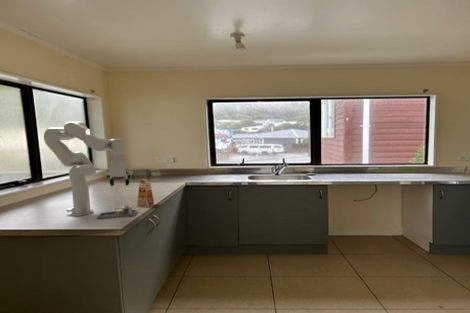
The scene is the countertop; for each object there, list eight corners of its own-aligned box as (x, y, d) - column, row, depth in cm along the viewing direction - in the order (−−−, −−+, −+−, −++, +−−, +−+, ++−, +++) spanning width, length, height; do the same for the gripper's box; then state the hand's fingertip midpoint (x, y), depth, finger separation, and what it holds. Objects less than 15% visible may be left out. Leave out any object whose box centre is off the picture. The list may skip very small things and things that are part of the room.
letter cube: (122, 215, 167) (121, 207, 167) (123, 213, 172) (123, 205, 172) (130, 215, 168) (130, 207, 168) (132, 212, 173) (131, 205, 173)
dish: (111, 213, 174) (111, 211, 174) (114, 209, 184) (114, 207, 183) (128, 212, 176) (127, 210, 176) (130, 208, 186) (130, 206, 185)
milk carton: (148, 207, 187) (146, 178, 186) (136, 207, 189) (134, 178, 187) (154, 204, 196) (153, 176, 194) (143, 203, 198) (141, 176, 196)
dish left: (97, 219, 162) (97, 217, 162) (101, 215, 172) (101, 212, 172) (115, 218, 164) (115, 215, 164) (118, 213, 174) (118, 211, 174)
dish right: (117, 218, 164) (116, 215, 164) (120, 213, 174) (120, 211, 174) (134, 216, 166) (134, 213, 166) (136, 212, 176) (136, 209, 176)
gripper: (101, 159, 167) (103, 186, 168) (129, 158, 166) (130, 186, 168) (107, 158, 174) (109, 184, 176) (134, 157, 174) (135, 184, 175)
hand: (119, 185), depth 172 cm, fingers open, 9 cm apart
